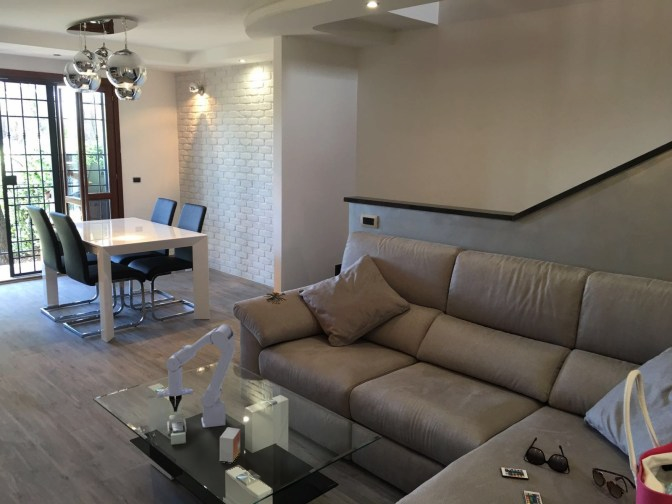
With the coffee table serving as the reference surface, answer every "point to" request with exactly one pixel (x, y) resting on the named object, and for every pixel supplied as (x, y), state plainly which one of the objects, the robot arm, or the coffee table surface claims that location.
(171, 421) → the sliding jaw
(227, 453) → the small box
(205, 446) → the coffee table surface
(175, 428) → the steel block
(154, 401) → the coffee table surface
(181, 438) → the vise frame
